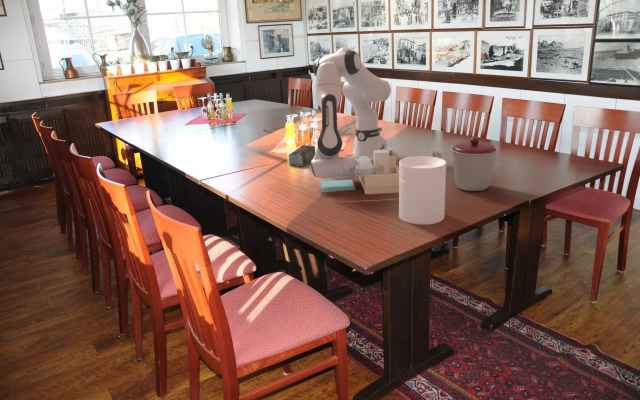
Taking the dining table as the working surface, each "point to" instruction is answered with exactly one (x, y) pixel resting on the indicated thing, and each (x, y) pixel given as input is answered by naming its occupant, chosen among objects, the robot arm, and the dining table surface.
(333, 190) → the mat
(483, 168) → the canister
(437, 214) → the canister
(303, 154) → the beverage carton
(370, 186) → the beige open box
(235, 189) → the dining table surface
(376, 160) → the box
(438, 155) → the architectural model
